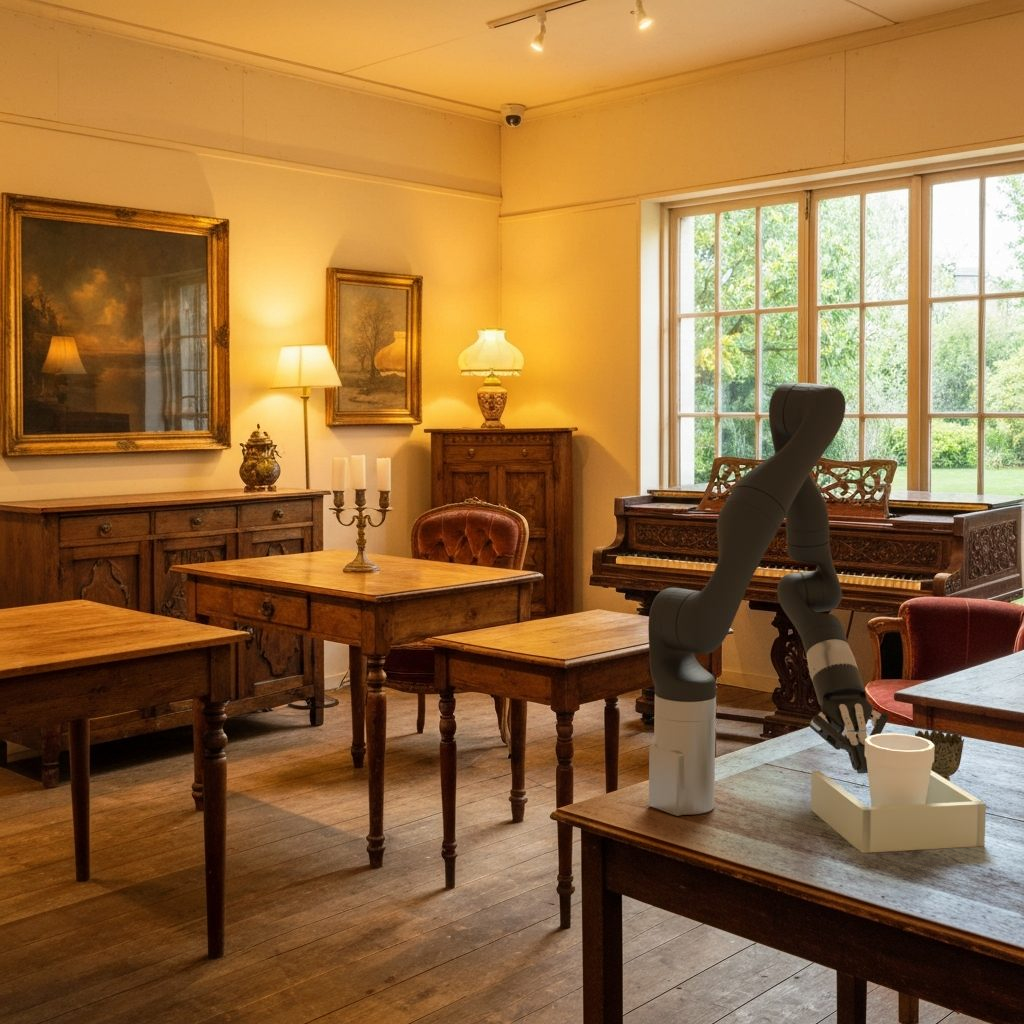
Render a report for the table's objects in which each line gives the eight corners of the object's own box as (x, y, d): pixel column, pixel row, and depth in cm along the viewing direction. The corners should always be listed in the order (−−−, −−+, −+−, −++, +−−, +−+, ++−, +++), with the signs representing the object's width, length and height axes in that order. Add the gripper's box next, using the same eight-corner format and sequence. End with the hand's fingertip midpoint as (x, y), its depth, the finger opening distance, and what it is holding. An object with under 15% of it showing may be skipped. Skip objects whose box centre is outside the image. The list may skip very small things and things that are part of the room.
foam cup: (902, 847, 170) (904, 755, 169) (849, 828, 178) (851, 740, 176) (945, 833, 175) (948, 744, 174) (892, 815, 183) (894, 730, 182)
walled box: (810, 809, 186) (811, 770, 185) (922, 803, 188) (923, 765, 188) (861, 852, 168) (862, 810, 167) (984, 845, 170) (985, 803, 170)
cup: (965, 792, 194) (967, 742, 193) (916, 789, 195) (918, 740, 194) (958, 778, 201) (960, 730, 200) (911, 775, 202) (912, 728, 202)
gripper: (802, 663, 195) (830, 761, 184) (881, 660, 197) (914, 757, 186) (789, 688, 201) (816, 784, 190) (866, 685, 202) (897, 780, 191)
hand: (864, 770), depth 188 cm, fingers closed
